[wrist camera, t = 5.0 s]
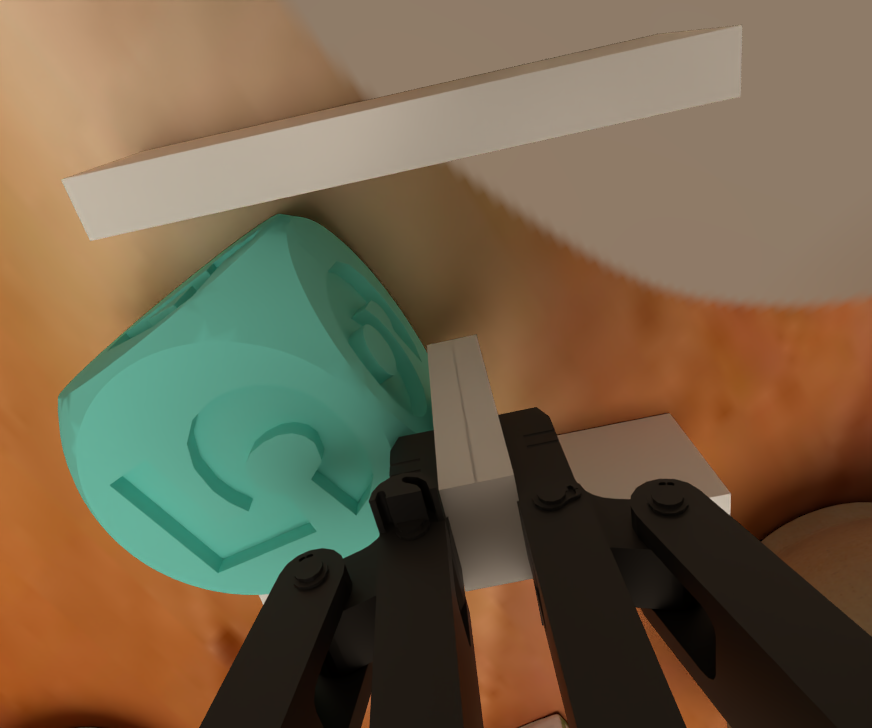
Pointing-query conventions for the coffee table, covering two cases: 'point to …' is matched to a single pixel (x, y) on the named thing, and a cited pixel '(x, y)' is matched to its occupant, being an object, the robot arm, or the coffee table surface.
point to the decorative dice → (249, 412)
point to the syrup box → (548, 723)
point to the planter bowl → (832, 556)
